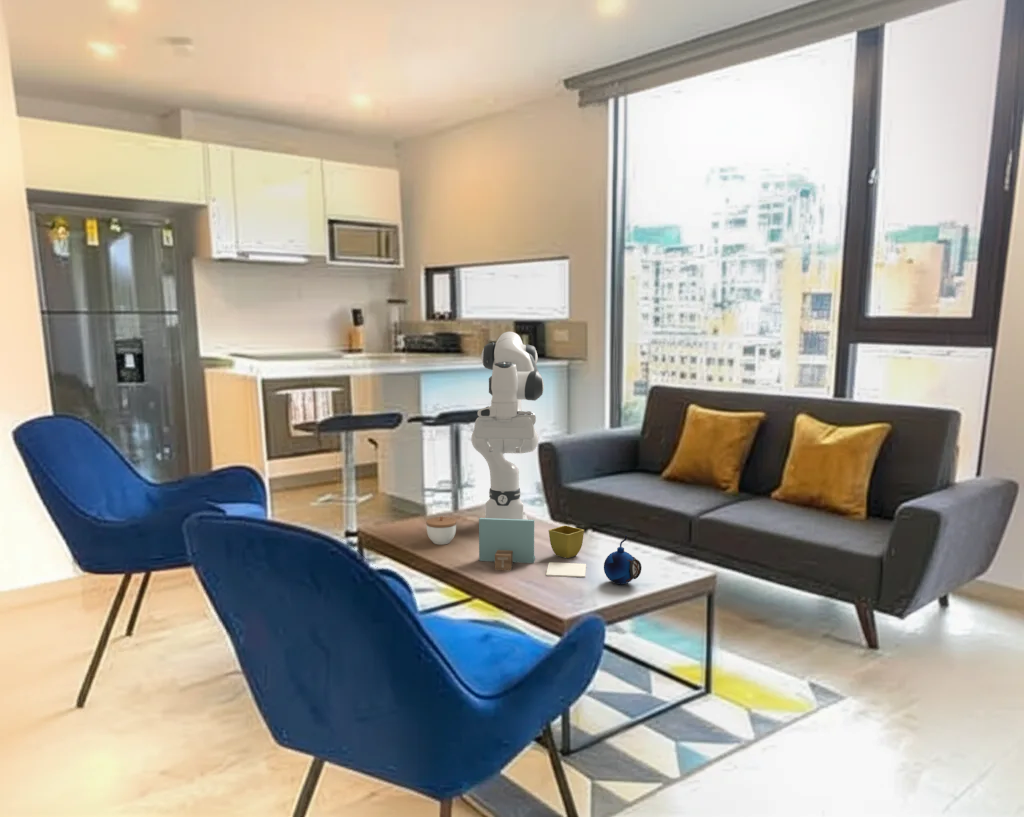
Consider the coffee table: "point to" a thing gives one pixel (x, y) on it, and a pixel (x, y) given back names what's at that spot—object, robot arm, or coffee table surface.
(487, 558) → the screen
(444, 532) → the lidded jar
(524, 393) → the robot arm
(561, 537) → the flower pot
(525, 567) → the coffee table surface
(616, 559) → the bomb
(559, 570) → the pad
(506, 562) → the brown block
